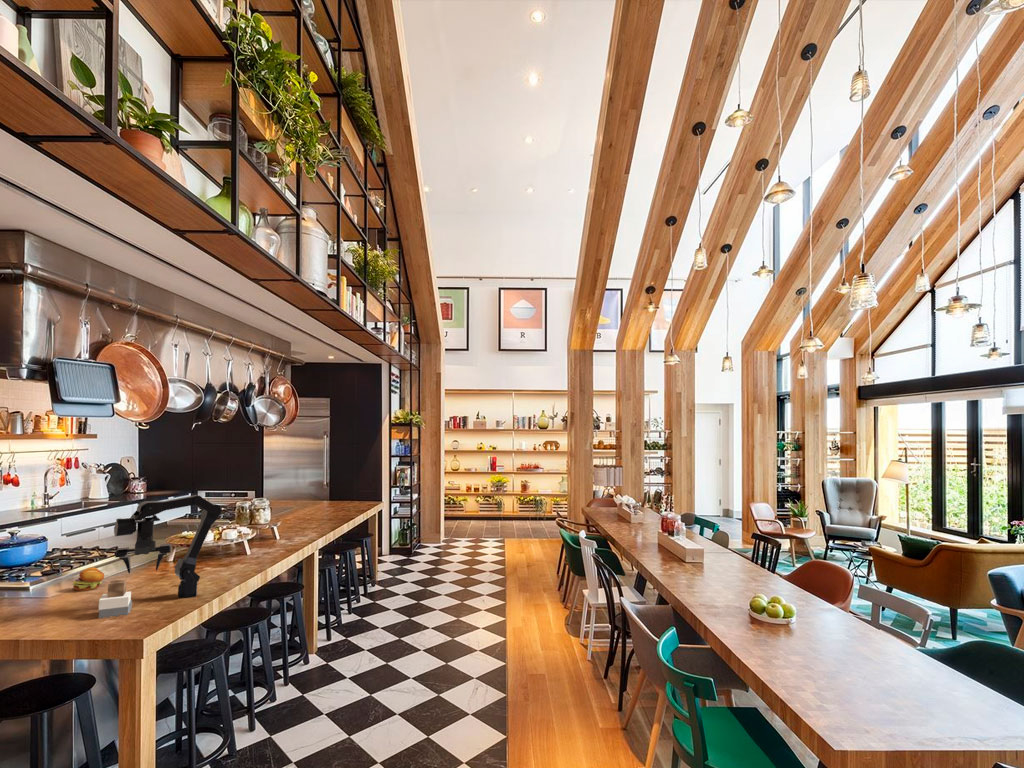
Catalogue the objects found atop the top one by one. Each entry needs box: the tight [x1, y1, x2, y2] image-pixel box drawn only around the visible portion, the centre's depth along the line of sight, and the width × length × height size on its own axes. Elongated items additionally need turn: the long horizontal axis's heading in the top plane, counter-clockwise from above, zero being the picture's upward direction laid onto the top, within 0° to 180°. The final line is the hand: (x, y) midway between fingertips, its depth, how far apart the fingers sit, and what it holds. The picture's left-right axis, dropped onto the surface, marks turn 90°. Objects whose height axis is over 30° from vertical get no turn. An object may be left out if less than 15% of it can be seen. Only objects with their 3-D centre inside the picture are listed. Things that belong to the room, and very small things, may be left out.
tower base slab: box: [98, 599, 133, 619], centre depth 210 cm, size 9×9×4 cm
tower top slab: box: [98, 590, 132, 611], centre depth 210 cm, size 9×9×4 cm
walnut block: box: [107, 579, 127, 598], centre depth 211 cm, size 5×5×5 cm
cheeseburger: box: [72, 567, 105, 592], centre depth 243 cm, size 10×11×10 cm
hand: (143, 571), depth 223 cm, fingers open, 9 cm apart
